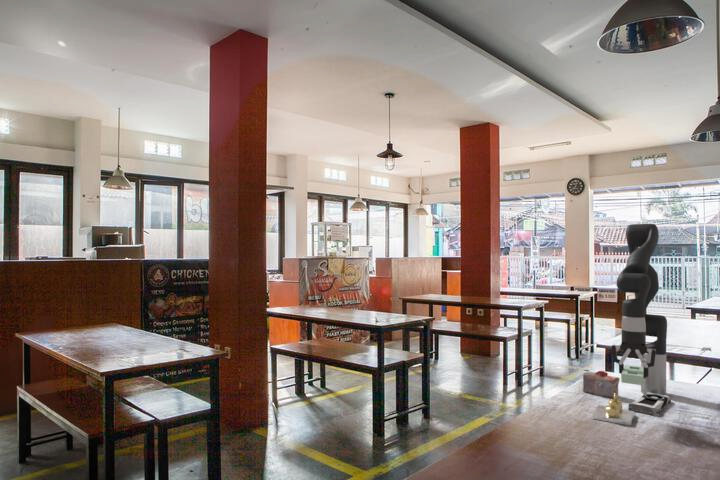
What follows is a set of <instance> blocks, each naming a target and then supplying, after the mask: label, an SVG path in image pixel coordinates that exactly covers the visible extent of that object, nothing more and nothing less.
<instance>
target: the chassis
mask: <svg viewBox="0 0 720 480" xmlns="http://www.w3.org/2000/svg"><path fill="white" fill-rule="evenodd" d="M635 413H636V412H635V411H631V410H628V409H623V401H621V400H619V399H618V396H617V394H616V393H615V394H614V397H613V399H611V398H610V399H609V400H608V405H606V406H604V405H597V407H596V408H595V410H594V412H593V414H592V419H593V420H598V421H603V422H609V423H612V424H613V423H614V424H620V425H624V426H632V425H633V420H634V419H635V416H636V415H635Z"/></svg>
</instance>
